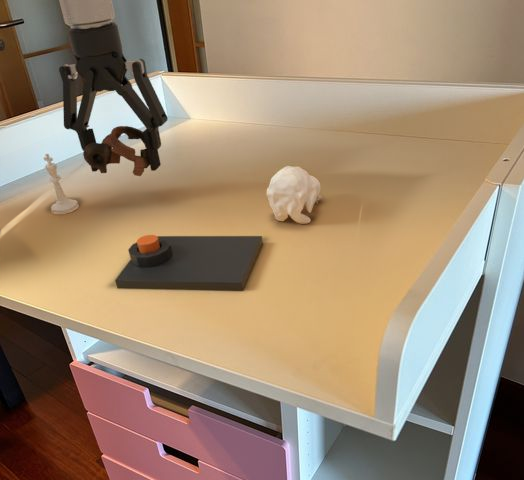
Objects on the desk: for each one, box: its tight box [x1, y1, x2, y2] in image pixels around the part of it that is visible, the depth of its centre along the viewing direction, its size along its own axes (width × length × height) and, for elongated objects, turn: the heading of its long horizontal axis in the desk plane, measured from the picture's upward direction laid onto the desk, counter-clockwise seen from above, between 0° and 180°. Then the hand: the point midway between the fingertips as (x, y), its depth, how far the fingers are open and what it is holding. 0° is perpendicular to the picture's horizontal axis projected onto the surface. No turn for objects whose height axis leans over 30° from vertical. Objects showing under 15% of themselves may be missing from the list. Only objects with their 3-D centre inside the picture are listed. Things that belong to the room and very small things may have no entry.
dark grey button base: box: [114, 235, 264, 292], centre depth 80 cm, size 18×13×3 cm
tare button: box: [136, 234, 160, 253], centre depth 80 cm, size 3×3×2 cm
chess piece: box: [43, 153, 80, 215], centre depth 100 cm, size 5×5×10 cm
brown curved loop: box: [82, 125, 150, 177], centre depth 97 cm, size 12×10×8 cm
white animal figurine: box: [266, 165, 323, 225], centre depth 88 cm, size 6×8×12 cm
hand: (126, 168), depth 98 cm, fingers closed on brown curved loop, 10 cm apart
